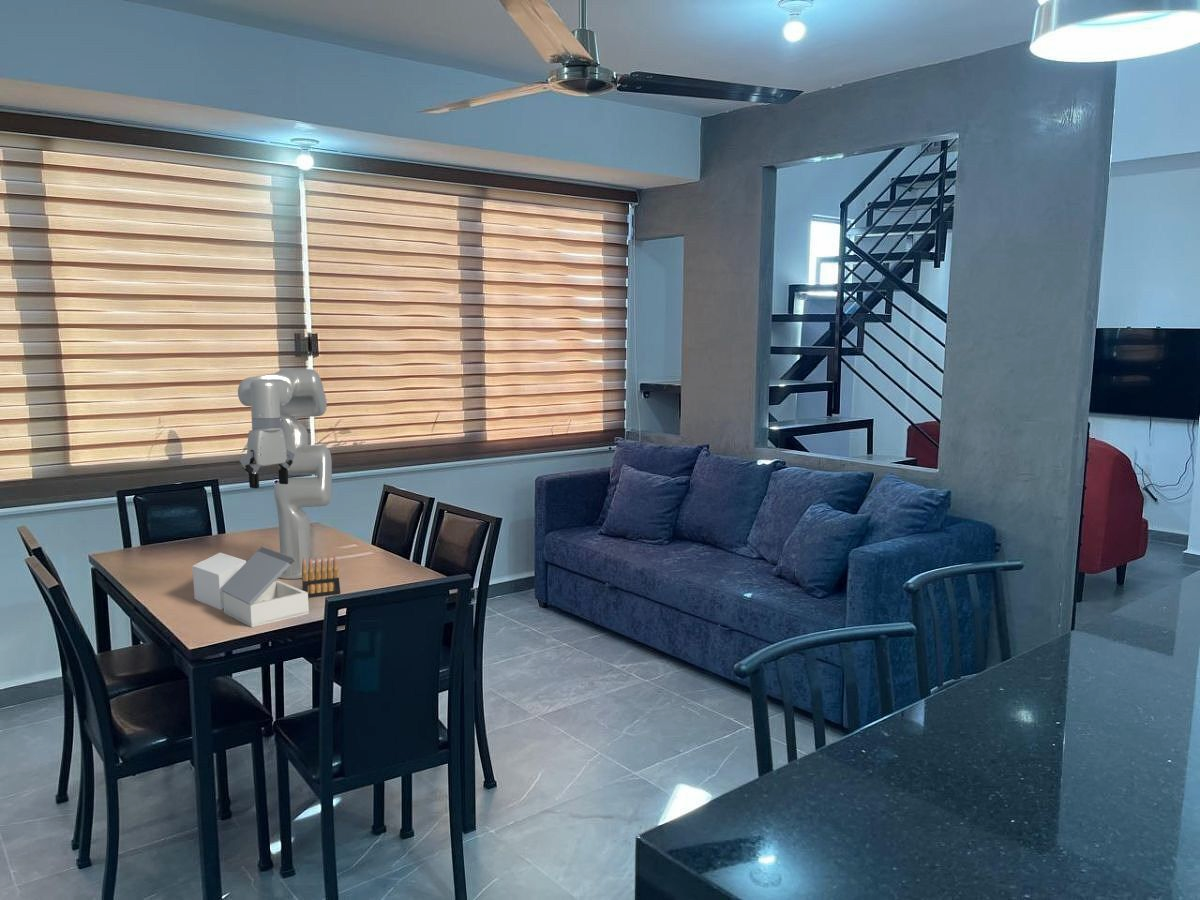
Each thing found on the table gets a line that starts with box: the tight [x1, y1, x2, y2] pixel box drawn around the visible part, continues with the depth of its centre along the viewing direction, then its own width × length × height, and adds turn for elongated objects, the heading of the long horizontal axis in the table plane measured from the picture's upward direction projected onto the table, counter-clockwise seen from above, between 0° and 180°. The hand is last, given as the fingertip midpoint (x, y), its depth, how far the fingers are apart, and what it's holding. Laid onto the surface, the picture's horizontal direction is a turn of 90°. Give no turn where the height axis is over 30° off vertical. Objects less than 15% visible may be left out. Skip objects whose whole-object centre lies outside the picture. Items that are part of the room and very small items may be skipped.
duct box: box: [223, 580, 310, 628], centre depth 240 cm, size 18×17×6 cm
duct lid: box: [220, 546, 295, 605], centre depth 237 cm, size 19×16×1 cm
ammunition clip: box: [301, 554, 341, 599], centre depth 256 cm, size 11×2×12 cm, turn 114°
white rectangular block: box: [192, 552, 247, 611], centre depth 256 cm, size 14×29×10 cm, turn 23°
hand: (269, 485), depth 241 cm, fingers open, 9 cm apart
